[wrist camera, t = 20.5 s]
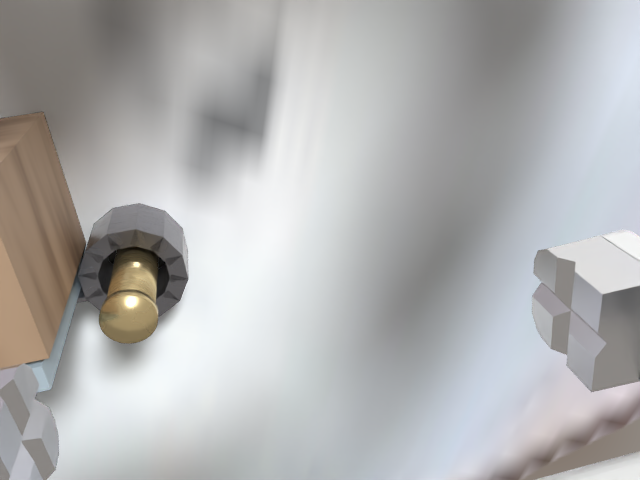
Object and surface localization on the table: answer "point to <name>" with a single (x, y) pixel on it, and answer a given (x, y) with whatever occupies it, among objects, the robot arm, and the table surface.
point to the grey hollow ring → (142, 231)
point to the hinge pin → (131, 296)
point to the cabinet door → (57, 342)
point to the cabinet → (33, 240)
